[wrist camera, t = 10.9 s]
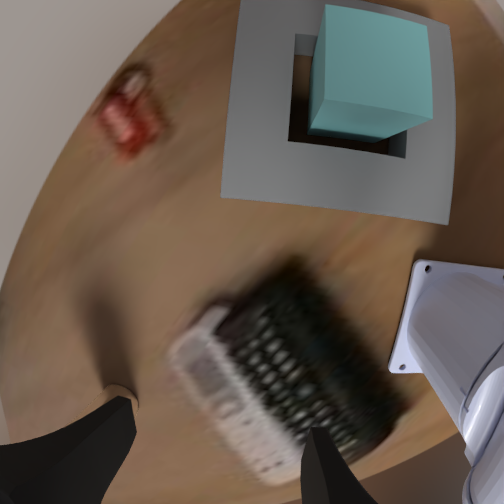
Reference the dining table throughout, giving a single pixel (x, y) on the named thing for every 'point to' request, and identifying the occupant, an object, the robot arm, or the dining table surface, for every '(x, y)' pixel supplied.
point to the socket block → (326, 157)
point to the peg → (368, 76)
